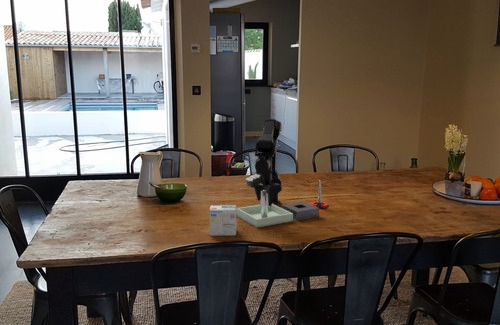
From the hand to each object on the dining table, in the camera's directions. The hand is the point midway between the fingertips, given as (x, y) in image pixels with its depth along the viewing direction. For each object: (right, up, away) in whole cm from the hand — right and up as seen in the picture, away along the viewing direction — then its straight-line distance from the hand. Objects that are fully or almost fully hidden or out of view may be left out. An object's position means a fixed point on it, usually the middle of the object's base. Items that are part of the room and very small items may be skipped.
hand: (264, 203), depth 216 cm
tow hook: (+27, -3, +22) cm, 35 cm away
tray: (0, -7, +1) cm, 7 cm away
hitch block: (+16, -6, +7) cm, 19 cm away
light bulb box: (-17, -11, -17) cm, 26 cm away
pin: (0, -6, +1) cm, 6 cm away
